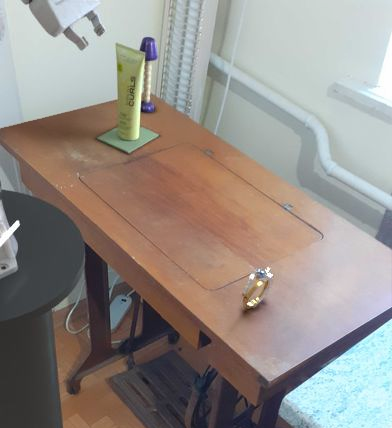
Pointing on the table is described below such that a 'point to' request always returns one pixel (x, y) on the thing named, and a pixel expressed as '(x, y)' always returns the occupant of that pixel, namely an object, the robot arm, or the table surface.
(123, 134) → the tube
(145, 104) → the toy lamp
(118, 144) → the mat
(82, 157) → the table surface
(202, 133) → the table surface
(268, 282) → the ring
